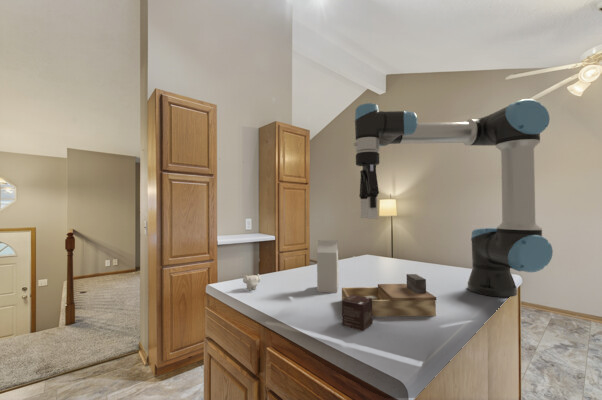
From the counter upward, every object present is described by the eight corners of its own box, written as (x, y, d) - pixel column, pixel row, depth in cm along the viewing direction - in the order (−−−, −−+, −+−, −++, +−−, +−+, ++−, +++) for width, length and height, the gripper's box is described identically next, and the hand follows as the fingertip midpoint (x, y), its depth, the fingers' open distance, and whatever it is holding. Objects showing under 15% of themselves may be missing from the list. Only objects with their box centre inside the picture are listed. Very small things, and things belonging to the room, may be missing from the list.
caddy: (415, 302, 94) (414, 286, 94) (435, 318, 80) (435, 300, 80) (341, 303, 93) (341, 287, 94) (349, 319, 79) (349, 301, 80)
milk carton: (337, 294, 103) (336, 241, 103) (317, 293, 104) (316, 241, 105) (338, 289, 110) (337, 239, 110) (320, 288, 111) (319, 239, 112)
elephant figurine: (245, 293, 105) (245, 277, 106) (240, 288, 113) (240, 272, 113) (263, 291, 108) (263, 275, 109) (257, 286, 116) (257, 271, 116)
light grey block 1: (372, 302, 91) (372, 295, 91) (377, 305, 89) (377, 297, 89) (364, 303, 90) (364, 296, 90) (369, 306, 88) (368, 299, 88)
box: (352, 321, 78) (351, 294, 78) (373, 326, 75) (372, 298, 75) (341, 329, 73) (341, 300, 74) (363, 334, 70) (363, 304, 70)
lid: (414, 286, 94) (414, 271, 95) (436, 300, 80) (436, 282, 80) (377, 286, 94) (377, 271, 94) (392, 300, 79) (392, 283, 80)
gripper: (351, 159, 106) (352, 217, 105) (361, 144, 81) (363, 219, 80) (371, 159, 106) (372, 217, 105) (388, 143, 81) (390, 219, 80)
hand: (368, 218), depth 93 cm, fingers open, 13 cm apart
